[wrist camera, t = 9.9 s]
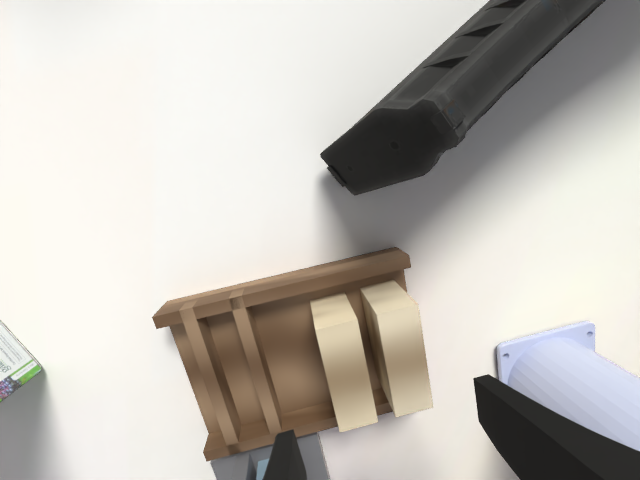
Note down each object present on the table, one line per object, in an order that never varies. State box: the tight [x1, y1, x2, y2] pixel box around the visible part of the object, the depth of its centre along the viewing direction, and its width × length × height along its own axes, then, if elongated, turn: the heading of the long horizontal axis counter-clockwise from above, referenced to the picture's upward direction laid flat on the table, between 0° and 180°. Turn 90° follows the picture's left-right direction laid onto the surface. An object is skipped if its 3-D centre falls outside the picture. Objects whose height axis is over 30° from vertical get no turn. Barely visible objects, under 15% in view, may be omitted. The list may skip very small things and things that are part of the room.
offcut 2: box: [360, 280, 433, 417], centre depth 19 cm, size 7×2×4 cm, turn 12°
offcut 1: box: [310, 292, 378, 432], centre depth 19 cm, size 7×2×4 cm, turn 12°
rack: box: [152, 247, 411, 461], centre depth 21 cm, size 11×16×2 cm
